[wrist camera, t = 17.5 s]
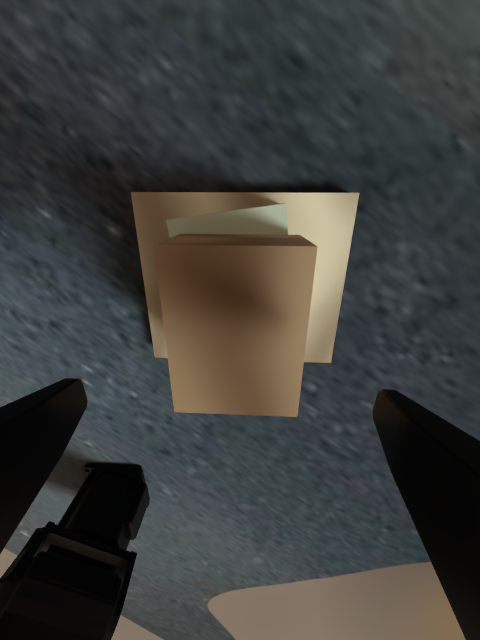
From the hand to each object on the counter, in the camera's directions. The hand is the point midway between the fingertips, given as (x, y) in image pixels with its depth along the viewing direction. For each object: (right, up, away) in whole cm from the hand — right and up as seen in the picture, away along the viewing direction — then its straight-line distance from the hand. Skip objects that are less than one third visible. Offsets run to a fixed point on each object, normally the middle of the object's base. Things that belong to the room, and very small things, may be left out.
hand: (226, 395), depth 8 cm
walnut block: (0, +3, +7) cm, 8 cm away
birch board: (+1, +5, +12) cm, 13 cm away
